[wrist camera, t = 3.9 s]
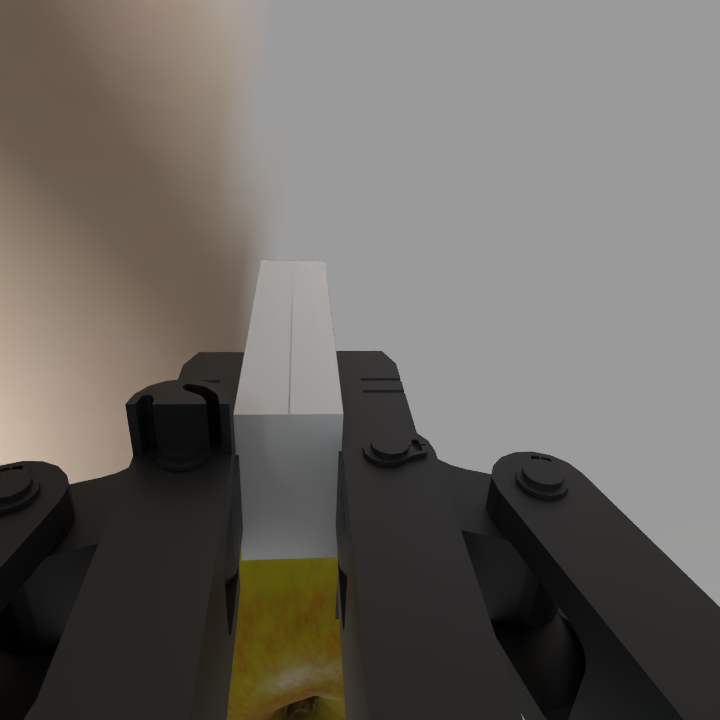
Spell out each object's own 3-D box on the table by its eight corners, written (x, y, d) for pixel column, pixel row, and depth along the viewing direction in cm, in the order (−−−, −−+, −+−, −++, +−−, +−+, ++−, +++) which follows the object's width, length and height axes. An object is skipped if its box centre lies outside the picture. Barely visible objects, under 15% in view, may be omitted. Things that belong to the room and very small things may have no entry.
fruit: (323, 630, 26) (334, 844, 19) (127, 563, 23) (56, 789, 16) (453, 481, 23) (523, 676, 16) (243, 381, 20) (216, 567, 13)
